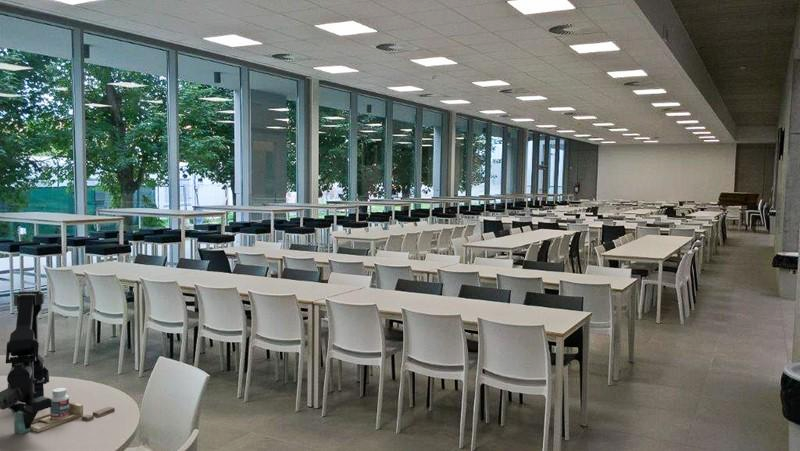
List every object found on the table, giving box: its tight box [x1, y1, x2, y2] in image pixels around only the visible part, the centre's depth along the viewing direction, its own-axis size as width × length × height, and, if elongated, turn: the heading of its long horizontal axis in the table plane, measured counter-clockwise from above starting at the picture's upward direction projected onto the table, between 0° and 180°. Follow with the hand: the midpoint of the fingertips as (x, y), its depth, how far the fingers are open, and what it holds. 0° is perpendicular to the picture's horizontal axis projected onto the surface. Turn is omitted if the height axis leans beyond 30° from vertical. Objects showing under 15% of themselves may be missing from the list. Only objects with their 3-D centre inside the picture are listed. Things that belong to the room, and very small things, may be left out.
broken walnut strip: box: [81, 406, 115, 422], centre depth 206 cm, size 3×10×1 cm, turn 154°
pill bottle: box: [49, 387, 70, 419], centre depth 202 cm, size 5×5×9 cm
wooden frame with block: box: [13, 400, 84, 435], centre depth 198 cm, size 9×19×6 cm, turn 154°
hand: (24, 427), depth 192 cm, fingers closed on wooden frame with block, 3 cm apart
